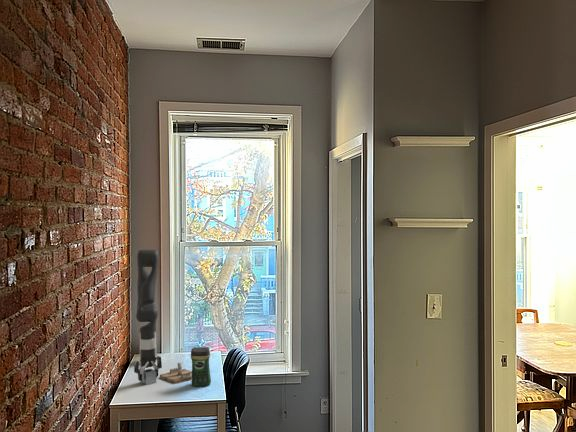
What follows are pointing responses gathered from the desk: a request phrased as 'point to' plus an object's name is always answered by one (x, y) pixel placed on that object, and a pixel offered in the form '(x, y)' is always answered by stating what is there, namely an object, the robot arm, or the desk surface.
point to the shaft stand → (177, 375)
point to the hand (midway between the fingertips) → (148, 379)
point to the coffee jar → (200, 366)
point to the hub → (148, 376)
